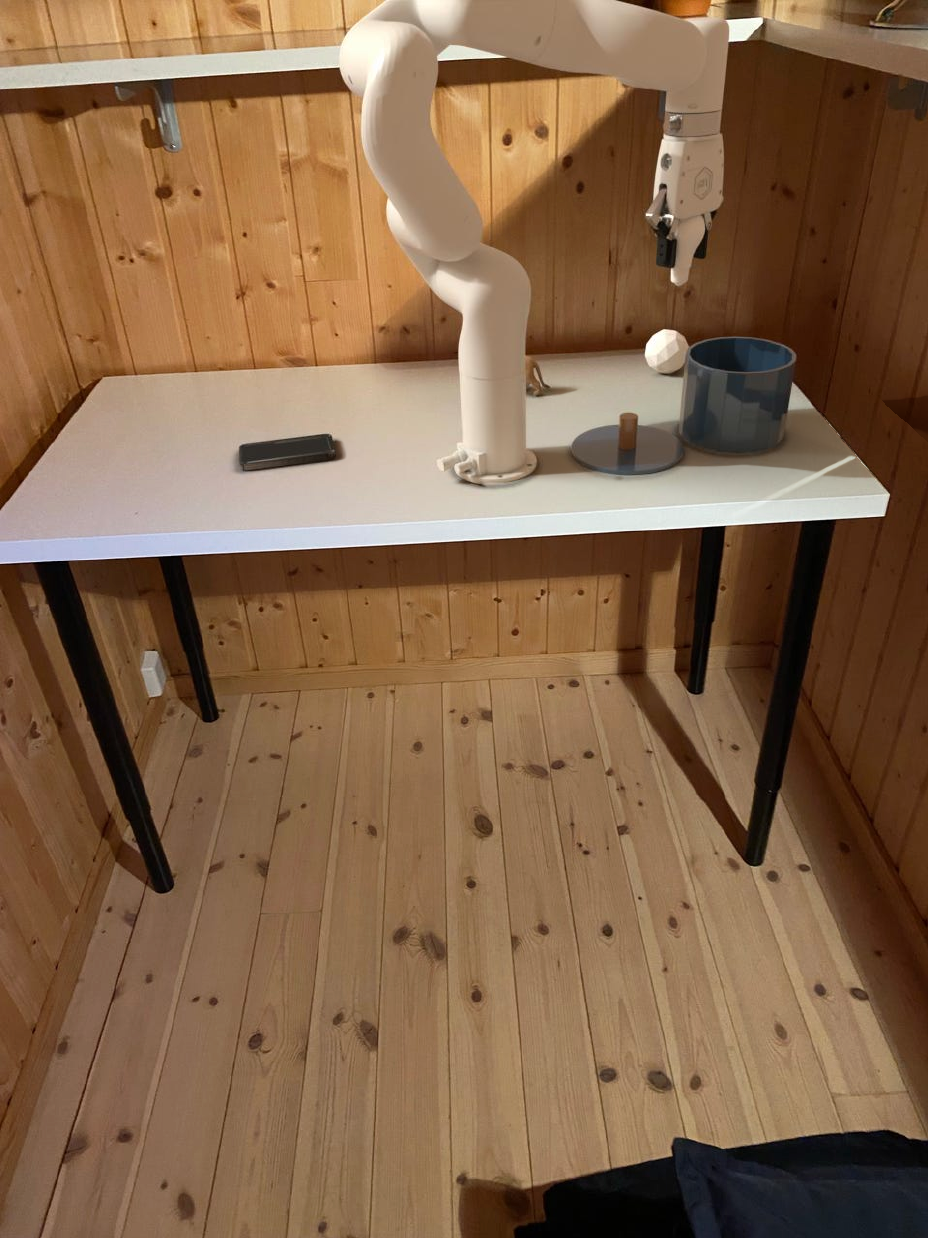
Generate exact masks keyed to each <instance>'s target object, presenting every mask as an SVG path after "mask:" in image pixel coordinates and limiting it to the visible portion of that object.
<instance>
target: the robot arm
mask: <svg viewBox="0 0 928 1238" xmlns="http://www.w3.org/2000/svg"><path fill="white" fill-rule="evenodd" d="M729 41H730V26H729V23H728V21H727V20H726V19H725V18H722V17H717V16H713V17H712V16H705V17H704V16H703V17H702V16H701V17H689V18H681V17H677V16H674V15H671V14H668V13H665V12H661V11H659V10H655V9H651V8H647V7H644V6H640V5H636V4H632V3H627V2H625V1H619V0H384V1H383V2H382V3H380V4H379V5H378V6H376V7H375V8H374V9H372V10H370V12H369V13H367V14H366V15H364V16H363V17H362V18H361V19H360V20H359V21H357V22H356V23H355V24H354V25H353V26H352V27H351V28H350V29H349V30H348V32H347V33H346V35H345V36H344V38H343V40H342V41H341V44H340V49H339V54H338V55H339V56H338V64H339V65H338V66H339V71H340V75H341V76H342V80H343V82H344V83H345V85H346V86H347V88H348V89H349V90H350V91H351V93H353V94H354V95H355V96H356V97H358V98H360V99H361V100H362V103H361V117H360V137H361V145H362V150H363V154H364V157H365V159H366V162H367V165H368V166H369V168H370V171H371V172H372V174H373V177H374V178H375V179H376V181H377V183H378V184H379V186H380V187H381V189H382V190H383V192H384V193H385V195H386V197H387V200H386V209H385V210H386V220H387V224H388V227H389V230H390V233H391V234H392V237H393V238H394V239H395V241H396V243H397V244H398V245H399V247H400V249H401V250H402V251H403V253H404V255H406V257H407V258H408V260H410V262H411V263H412V265H413V267H414V268H415V269H416V271H417V272H418V273H419V274H420V276H421V277H422V278H423V280H424V281H425V283H426V284H427V285H428V287H429V288H430V289H431V291H432V292H433V293H434V294H435V295H436V296H437V298H439V299H440V300H441V301H442V302H443V303H445V304H446V305H448V306H450V307H451V308H453V309H454V310H457V312H459V313H460V314H461V315H462V325H461V331H460V335H459V341H458V353H457V354H458V372H459V391H460V392H459V395H460V410H461V411H460V413H461V429H462V430H461V431H462V441H459V442H457V443H456V448H457V450H455V451H453V453H452V454H451V455H446V456H444V457H441V458H438V459H437V460H436V466H437V469H438V471H440V472H442V473H443V472H445V471H448V470H451V469H453V468H454V472H455V473H456V475H457V476H458V477H459V478H461V479H463V480H465V481H466V482H469V483H473V484H478V485H483V483H484V484H503V483H509V482H514V481H517V480H521V479H524V478H525V477H527V476H528V475H530V474H532V473H533V472H534V471H535V469H536V467H537V464H538V462H537V461H538V460H537V456H536V454H535V453H533V451H531V450H530V449H528V448H527V389H526V366H525V355H526V343H527V341H526V340H527V329H528V328H527V327H528V320H529V314H530V308H531V303H532V286H531V285H532V284H531V281H530V278H529V276H528V273H527V271H526V270H525V268H524V266H523V265H522V264H521V263H520V262H519V260H517V259H516V258H514V256H511V255H510V254H508V253H506V252H504V251H502V250H500V249H497V248H496V247H494V246H490V245H488V244H485V243H483V242H481V241H482V238H483V231H484V225H483V218H482V214H481V212H480V210H479V207H478V205H477V203H476V202H475V200H474V198H473V196H472V195H471V194H470V193H469V191H468V190H467V188H466V187H465V185H464V184H463V182H462V181H461V179H460V178H459V176H458V174H457V172H456V171H455V170H454V168H453V167H452V165H451V163H450V162H449V160H448V159H447V157H446V156H445V154H444V152H443V149H441V146H440V144H439V142H438V141H437V139H436V137H435V134H434V132H433V129H432V124H431V108H432V103H433V97H434V94H435V89H436V87H437V82H438V76H439V59H438V56H439V55H440V54H441V53H442V52H443V51H445V50H446V49H447V48H448V47H450V46H460V47H465V48H470V49H474V50H478V51H481V52H485V53H489V54H493V55H497V56H501V57H505V58H509V59H512V60H517V61H520V62H525V63H528V64H532V65H536V66H538V67H542V68H546V69H551V70H557V71H562V72H567V73H577V74H579V73H580V74H595V75H603V76H609V77H613V78H614V79H616V80H617V81H618V82H619V83H620V84H623V85H624V86H628V87H630V88H637V89H645V90H655V91H656V90H657V91H663V92H666V95H665V111H664V121H663V124H662V129H663V138H662V139H661V142H660V147H659V151H658V156H657V162H656V169H655V175H654V184H653V185H654V186H653V200H652V203H651V204H650V206H649V208H648V210H647V211H646V212H645V216H644V218H645V220H646V221H647V223H648V224H649V225H650V228H651V229H652V231H653V232H654V237H655V238H656V239H657V243H656V256H655V265H656V266H657V267H661V268H666V269H670V270H671V268H674V267H675V261H676V249H677V239H673V238H674V236H675V233H676V230H677V227H678V223H679V220H680V219H686V218H690V217H694V216H698V215H701V216H702V217H703V219H704V223H705V233H704V236H703V238H702V240H701V242H700V244H699V245H698V247H697V248H696V250H695V253H694V255H693V259H694V258H695V259H698V260H704V259H706V258H707V248H708V238H709V231H710V230H711V229H712V227H713V220H714V218H715V217H716V215H717V213H718V210H719V208H720V207H721V205H722V203H723V202H724V199H725V197H724V195H723V188H724V173H725V171H724V169H725V152H724V151H725V150H724V138H723V133H721V132H720V131H721V123H722V112H723V102H724V92H725V84H726V83H725V81H726V72H727V62H728V53H729V43H730V42H729ZM669 214H670V215H669ZM667 220H671V222H670V225H669V228H668V226H667V225H666V222H667Z"/></svg>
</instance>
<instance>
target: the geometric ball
mask: <svg viewBox="0 0 928 1238" xmlns="http://www.w3.org/2000/svg"><path fill="white" fill-rule="evenodd" d="M689 347H690V345H689V343H688V341H687V340H686V337H685V336H684V335H683V334H681V333H680V332H679V331H677V330H673V329H665V328H664V329H661V330H660V331H658V332H657V333H655V334H653V335H652V336H651V337H650V339H649V340H648V341H647V343H646V345H645V352H644V358H645V360H646V363H647V364H648V366H649V368H651V369H652V370H654V371H655V372H657V373H659V374H666V375H670V374H673V373H675V372H676V371H678V370H680V369H681V368H682V367H684V365H685V356H686V352H687V349H688V348H689Z"/></svg>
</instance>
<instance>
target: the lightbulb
mask: <svg viewBox="0 0 928 1238" xmlns="http://www.w3.org/2000/svg"><path fill="white" fill-rule="evenodd" d="M669 215H670V214H669ZM670 222H671V220H667V222H666V225H667V226H668V228H669V225H670ZM704 233H705V223H704V219H703V217H702V216H701V215H698V216H694V217H690V218H686V219H680V220H679V223H678V227H677V230H676V233H675V236H674V238H673V239H677V249H676V261H675V267H674V268H671V269H670V282H671V283H673V284H674V285H675V286H676V287H681V286H683V285H684V284H686V283H687V282H688V281H689V275H690V269H691V267H692V263H693V259H694V257H693V255H694V253H695V250H696V248H697V247H698V245H699V244H700V242H701V240H702V238H703V236H704Z"/></svg>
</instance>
